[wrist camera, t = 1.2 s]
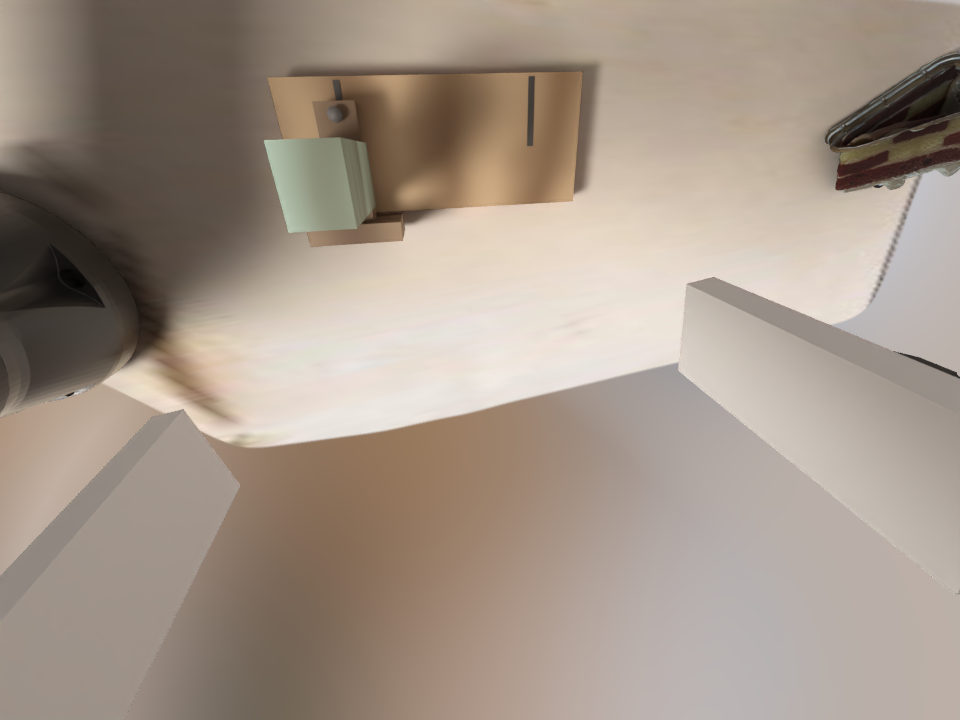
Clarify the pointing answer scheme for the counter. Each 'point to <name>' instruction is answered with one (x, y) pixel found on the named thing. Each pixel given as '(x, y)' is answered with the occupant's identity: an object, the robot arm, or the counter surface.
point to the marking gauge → (331, 181)
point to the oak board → (452, 134)
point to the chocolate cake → (903, 131)
